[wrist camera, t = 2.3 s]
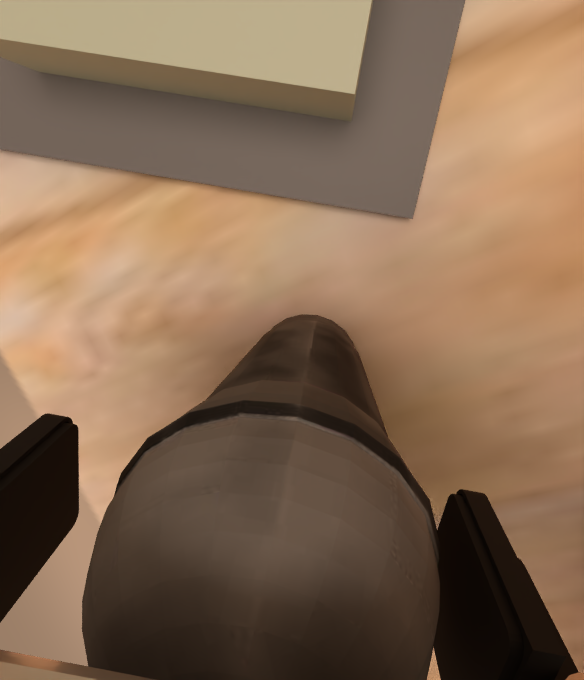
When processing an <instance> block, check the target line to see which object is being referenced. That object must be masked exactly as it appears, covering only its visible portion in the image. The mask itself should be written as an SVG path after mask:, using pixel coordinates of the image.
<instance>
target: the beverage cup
mask: <svg viewBox="0 0 584 680" xmlns="http://www.w3.org/2000/svg"><path fill="white" fill-rule="evenodd" d="M439 559H440V541H439V537H438V533H437V528H436V524H435V520H434V516H433V512H432V508H431V504H430V500H429V498H428V497H427V495H426V494H425V493H424V491H423V490H422V488H421V487H420V485H419V484H418V483H417V481H416V480H415V478H414V477H413V475H412V474H411V472H410V471H409V470H408V468H407V466H406V465H405V463H404V461H403V460H402V458H401V456H400V455H399V453H398V452H397V450H396V449H395V447H394V446H393V444H392V443H391V441H390V440H389V438H388V436H387V433H386V430H385V427H384V424H383V421H382V419H381V416H380V413H379V410H378V407H377V404H376V402H375V399H374V396H373V393H372V390H371V388H370V385H369V382H368V379H367V376H366V373H365V371H364V368H363V365H362V362H361V359H360V356H359V354H358V352H357V351H356V349H355V348H354V345H353V342H352V341H351V339H350V338H349V336H348V335H347V333H346V332H345V330H343V329H342V328H341V327H340V326H338V325H337V324H336V323H334V322H333V321H331V320H329V319H326V318H323V317H320V316H318V315H298V316H294V317H291V318H287V319H285V320H284V321H282V322H280V323H279V324H277V325H276V326H274V327H273V328H272V330H271V331H269V332H268V333H266V334H265V335H264V336H263V337H262V338H261V339H260V340H259V342H258V343H257V344H256V345H255V346H254V347H253V348H252V349H251V350H250V352H249V353H248V354H247V355H246V356H245V357H244V358H243V359H242V360H241V362H240V363H239V364H238V365H237V366H236V367H235V368H234V369H233V371H232V372H231V373H230V374H229V375H228V376H227V377H226V378H225V379H224V381H223V382H222V383H221V384H220V385H219V386H218V387H217V388H216V389H215V391H214V392H213V393H212V394H211V395H210V396H209V397H208V398H207V400H205V401H204V402H202V403H201V404H199V405H197V406H196V407H194V408H193V409H191V410H190V411H188V412H187V413H186V414H184V415H183V416H182V417H180V418H179V419H177V420H176V421H174V422H173V423H171V424H169V425H168V426H166V427H165V428H163V429H161V430H160V431H158V432H157V433H155V434H153V435H152V436H150V437H148V438H147V440H146V441H145V442H144V444H143V445H142V446H141V448H140V449H139V450H138V452H137V453H136V454H135V455H134V457H133V458H132V459H131V461H130V462H129V463H128V465H127V466H126V467H125V469H124V470H123V471H122V473H121V475H120V478H119V481H118V484H117V487H116V491H115V495H114V498H113V499H112V501H111V503H110V504H109V506H108V507H107V510H106V512H105V515H104V517H103V520H102V523H101V525H100V528H99V531H98V534H97V537H96V541H95V545H94V550H93V554H92V558H91V562H90V566H89V570H88V574H87V579H86V585H85V590H84V595H83V601H82V632H83V638H84V644H85V649H86V655H87V661H88V667H93V668H98V669H103V670H109V671H114V672H119V673H124V674H129V675H134V676H139V677H144V678H149V679H155V680H427V675H428V671H429V666H430V661H431V656H432V651H433V645H434V640H435V634H436V628H437V622H438V616H439V605H440V580H439V574H438V565H439Z"/></svg>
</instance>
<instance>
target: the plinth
mask: <svg viewBox="0 0 584 680" xmlns="http://www.w3.org/2000/svg"><path fill="white" fill-rule="evenodd" d="M464 3H465V0H0V149H1V150H7V151H13V152H19V153H25V154H31V155H37V156H43V157H49V158H55V159H60V160H66V161H72V162H78V163H84V164H90V165H96V166H102V167H108V168H114V169H120V170H126V171H132V172H138V173H143V174H149V175H155V176H161V177H167V178H173V179H179V180H185V181H191V182H197V183H203V184H209V185H215V186H220V187H226V188H232V189H238V190H244V191H250V192H256V193H262V194H268V195H274V196H280V197H286V198H292V199H298V200H303V201H309V202H315V203H321V204H327V205H333V206H339V207H345V208H351V209H357V210H363V211H369V212H375V213H380V214H386V215H392V216H398V217H404V218H410V219H413V215H414V211H415V207H416V203H417V199H418V195H419V190H420V186H421V182H422V178H423V174H424V170H425V165H426V161H427V157H428V153H429V149H430V145H431V140H432V136H433V132H434V128H435V124H436V119H437V115H438V111H439V107H440V103H441V99H442V94H443V90H444V86H445V82H446V78H447V74H448V69H449V65H450V61H451V57H452V53H453V49H454V44H455V40H456V36H457V32H458V28H459V23H460V19H461V15H462V11H463V7H464Z"/></svg>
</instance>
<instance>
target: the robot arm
mask: <svg viewBox="0 0 584 680" xmlns="http://www.w3.org/2000/svg"><path fill="white" fill-rule="evenodd" d="M78 513H79V463H78V427H77V425H75V424H73V422H72V419H71V418H69V417H65V416H59V415H54V414H44V415H42V416H41V417H40V418H39V419H37V420H36V421H35V422H34V423H32V424H31V425H30V426H29V427H27V428H26V429H25V430H24V431H22V432H21V433H20V434H19V435H17V436H16V437H15V438H14V439H12V440H11V441H10V442H9V443H7V444H6V445H5V446H3V447H2V448H1V449H0V622H1V621H2V620H3V618H4V617H5V616H6V614H7V613H8V612H9V610H10V609H11V608H12V607H13V605H14V604H15V603H16V601H17V600H18V599H19V597H20V596H21V595H22V593H23V592H24V591H25V589H26V588H27V587H28V585H29V584H30V583H31V581H32V580H33V579H34V577H35V576H36V575H37V573H38V572H39V571H40V569H41V568H42V567H43V566H44V564H45V563H46V562H47V560H48V559H49V558H50V556H51V555H52V554H53V552H54V551H55V550H56V548H57V547H58V546H59V544H60V543H61V542H62V540H63V539H64V538H65V537H66V535H67V534H68V533H69V531H70V530H71V529H72V527H73V526H74V524H75V522H76V520H77V517H78ZM437 533H438V537H439V541H440V559H439V565H438V574H439V580H440V605H439V616H438V622H437V628H436V634H435V640H434V645H433V646H434V651H435V655H436V660H437V664H438V669H439V673H440V678H441V680H584V673H579V672H578V670H577V668H576V666H575V664H574V662H573V660H572V658H571V656H570V654H569V652H568V650H567V648H566V646H565V644H564V642H563V640H562V638H561V636H560V634H559V632H558V630H557V628H556V626H555V625H554V623H553V621H552V619H551V617H550V615H549V613H548V611H547V609H546V607H545V605H544V603H543V601H542V599H541V597H540V595H539V593H538V591H537V589H536V587H535V585H534V583H533V581H532V579H531V577H530V575H529V573H528V571H527V569H526V567H525V566H524V564H523V563H522V561H521V560H520V559H519V558H517V556H516V554H515V552H514V550H513V548H512V546H511V544H510V542H509V540H508V538H507V536H506V534H505V532H504V530H503V528H502V526H501V524H500V522H499V520H498V518H497V516H496V514H495V512H494V510H493V508H492V506H491V504H490V502H489V500H488V498H487V496H486V495H485V494H483V493H479V492H473V491H468V490H462V489H460V490H459V491H458V492H457V494H450V496H449V498H448V500H447V503H446V506H445V509H444V512H443V515H442V518H441V521H440V524H439V527H438V530H437ZM0 680H155V679H149V678H144V677H139V676H134V675H129V674H124V673H119V672H114V671H109V670H103V669H98V668H93V667H88V666H82V665H77V664H72V663H66V662H62V661H56V660H51V659H46V658H40V657H35V656H30V655H25V654H20V653H15V652H9V651H4V650H0Z"/></svg>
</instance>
